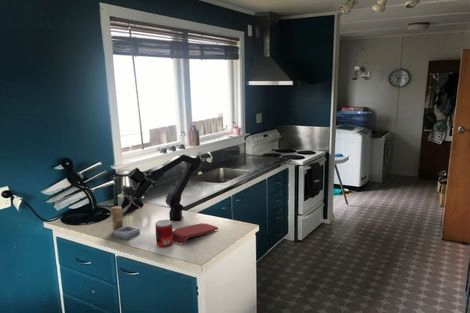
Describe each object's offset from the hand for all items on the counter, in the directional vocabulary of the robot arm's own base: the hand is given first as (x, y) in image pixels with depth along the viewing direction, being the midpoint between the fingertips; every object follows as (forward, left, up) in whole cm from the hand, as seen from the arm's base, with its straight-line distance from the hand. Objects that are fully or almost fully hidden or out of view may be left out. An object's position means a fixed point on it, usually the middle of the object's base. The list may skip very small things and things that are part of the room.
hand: (122, 211), depth 193 cm
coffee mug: (+11, -32, -10) cm, 35 cm away
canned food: (-28, +14, -10) cm, 33 cm away
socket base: (-5, +6, -10) cm, 13 cm away
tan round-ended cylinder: (+2, +2, -10) cm, 11 cm away
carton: (-39, 0, -11) cm, 40 cm away
